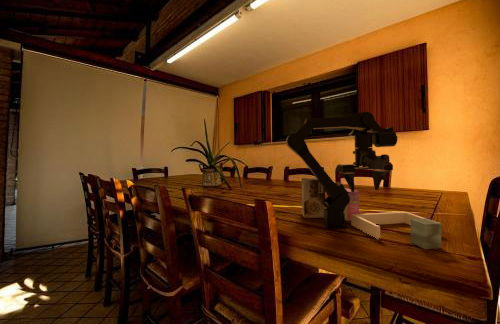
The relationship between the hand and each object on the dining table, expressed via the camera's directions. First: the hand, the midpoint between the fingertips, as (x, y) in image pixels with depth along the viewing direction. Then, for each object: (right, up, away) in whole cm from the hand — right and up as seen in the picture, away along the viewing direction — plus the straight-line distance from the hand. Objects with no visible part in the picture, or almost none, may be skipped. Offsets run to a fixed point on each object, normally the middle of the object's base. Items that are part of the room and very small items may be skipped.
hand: (364, 190), depth 82 cm
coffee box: (-14, -13, +15) cm, 25 cm away
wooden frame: (+8, -13, -2) cm, 15 cm away
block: (+9, -14, -16) cm, 23 cm away
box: (-2, -13, +13) cm, 18 cm away
